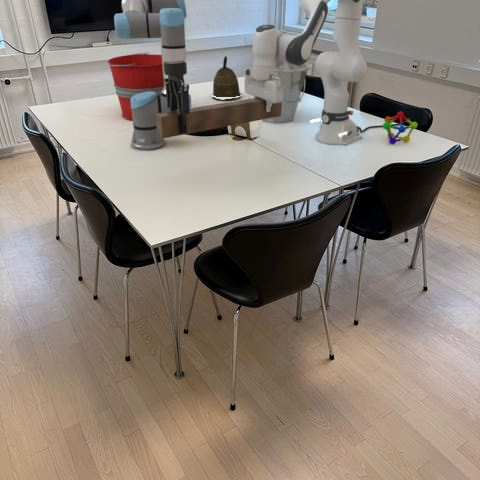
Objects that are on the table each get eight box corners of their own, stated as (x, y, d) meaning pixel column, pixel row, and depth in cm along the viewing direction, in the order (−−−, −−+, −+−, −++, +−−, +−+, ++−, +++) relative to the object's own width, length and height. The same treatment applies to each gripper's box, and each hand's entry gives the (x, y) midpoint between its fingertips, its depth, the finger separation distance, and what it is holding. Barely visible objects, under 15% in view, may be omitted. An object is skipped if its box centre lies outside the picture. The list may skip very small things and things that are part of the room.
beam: (162, 138, 152) (161, 117, 148) (157, 135, 155) (155, 113, 151) (280, 116, 178) (282, 97, 174) (273, 113, 181) (274, 94, 177)
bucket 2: (277, 130, 226) (280, 73, 211) (239, 117, 245) (239, 64, 230) (315, 118, 243) (320, 65, 228) (277, 107, 261) (279, 57, 247)
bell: (227, 105, 294) (202, 96, 282) (238, 66, 289) (213, 55, 277) (243, 108, 280) (217, 98, 268) (255, 66, 275) (229, 55, 263)
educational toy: (377, 146, 209) (379, 114, 202) (384, 138, 219) (386, 107, 211) (411, 149, 202) (415, 116, 195) (417, 141, 212) (420, 109, 204)
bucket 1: (122, 105, 263) (114, 51, 248) (180, 106, 263) (177, 52, 247) (105, 123, 234) (95, 63, 218) (171, 124, 233) (166, 64, 217)
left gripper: (198, 64, 140) (201, 136, 153) (172, 56, 153) (177, 123, 165) (177, 67, 137) (182, 140, 149) (152, 58, 149) (159, 126, 161)
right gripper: (288, 76, 161) (285, 114, 168) (254, 67, 175) (254, 102, 183) (274, 78, 158) (272, 117, 165) (241, 69, 172) (241, 105, 179)
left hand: (179, 131), depth 157 cm, fingers closed on beam, 5 cm apart
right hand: (262, 109), depth 174 cm, fingers closed on beam, 4 cm apart
